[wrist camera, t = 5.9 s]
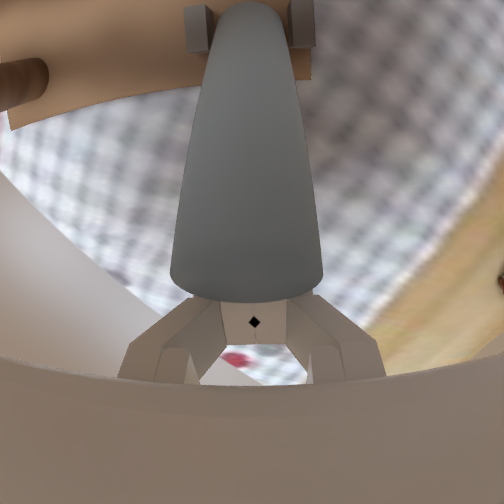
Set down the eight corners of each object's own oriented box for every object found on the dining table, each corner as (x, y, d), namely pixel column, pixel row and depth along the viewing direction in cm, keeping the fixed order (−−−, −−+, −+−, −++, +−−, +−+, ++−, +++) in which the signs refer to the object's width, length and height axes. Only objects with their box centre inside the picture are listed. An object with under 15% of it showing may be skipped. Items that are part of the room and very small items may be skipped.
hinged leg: (213, 4, 10) (147, 247, 5) (282, 0, 10) (335, 241, 5) (220, 56, 13) (190, 303, 8) (283, 53, 13) (313, 301, 7)
